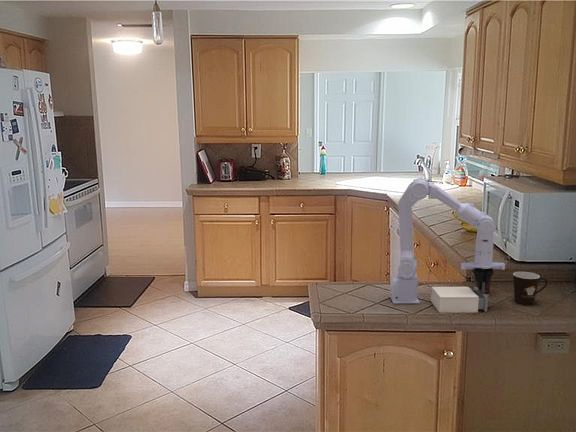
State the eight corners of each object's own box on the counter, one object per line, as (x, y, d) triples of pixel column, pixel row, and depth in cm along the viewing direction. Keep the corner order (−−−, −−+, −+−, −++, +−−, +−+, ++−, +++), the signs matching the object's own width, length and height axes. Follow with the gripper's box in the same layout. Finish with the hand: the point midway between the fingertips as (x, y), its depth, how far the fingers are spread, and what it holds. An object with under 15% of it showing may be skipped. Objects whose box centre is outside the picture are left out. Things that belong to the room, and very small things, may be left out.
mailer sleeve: (439, 312, 185) (440, 297, 184) (431, 301, 196) (431, 286, 195) (477, 312, 185) (478, 297, 184) (467, 301, 196) (468, 286, 195)
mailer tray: (448, 311, 185) (450, 286, 183) (439, 300, 196) (440, 276, 194) (487, 311, 185) (488, 286, 183) (476, 300, 196) (477, 276, 194)
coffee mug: (511, 304, 192) (513, 277, 191) (510, 297, 200) (512, 270, 199) (547, 308, 189) (550, 280, 187) (545, 300, 196) (547, 273, 195)
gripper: (466, 254, 183) (464, 292, 185) (509, 254, 183) (506, 292, 185) (460, 249, 190) (457, 286, 192) (501, 248, 190) (498, 286, 192)
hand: (481, 289), depth 189 cm, fingers closed, pressing on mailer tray
